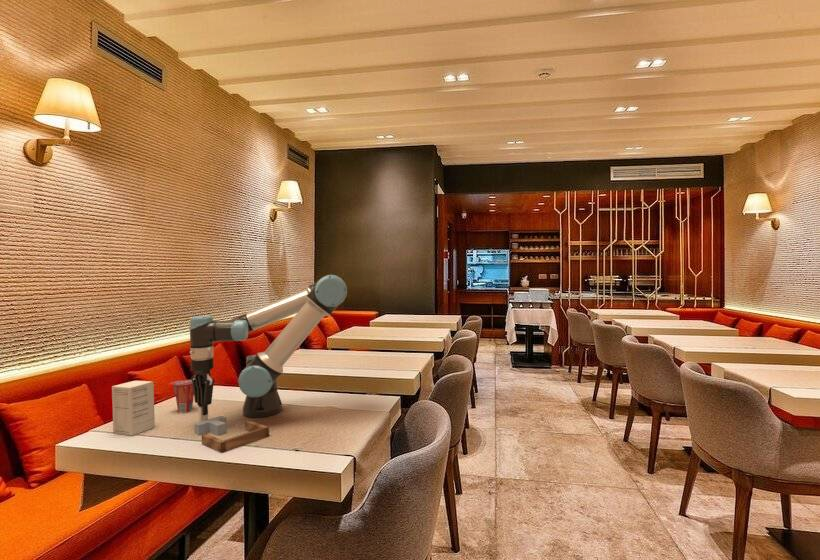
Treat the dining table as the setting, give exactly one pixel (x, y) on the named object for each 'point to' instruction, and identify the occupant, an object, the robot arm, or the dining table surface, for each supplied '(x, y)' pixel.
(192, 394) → the cup
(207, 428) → the t block
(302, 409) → the dining table surface
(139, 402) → the supplement box
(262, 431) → the dock
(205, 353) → the robot arm
